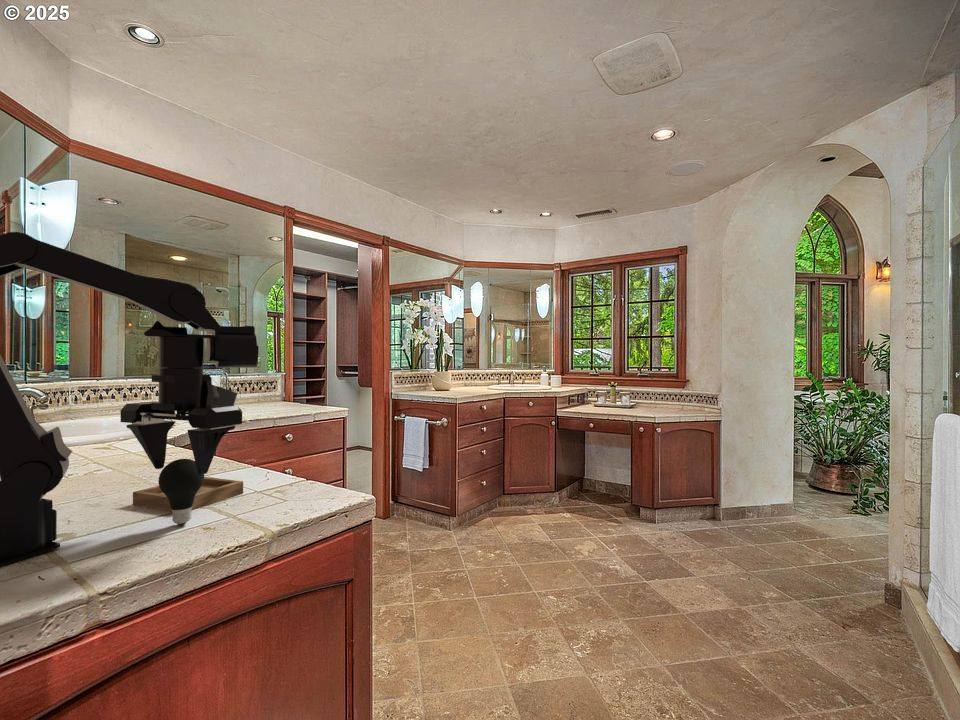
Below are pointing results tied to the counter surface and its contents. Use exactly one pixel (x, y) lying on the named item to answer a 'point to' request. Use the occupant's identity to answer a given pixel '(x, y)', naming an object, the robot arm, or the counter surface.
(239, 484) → the walnut tray
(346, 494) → the counter surface
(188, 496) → the light bulb
